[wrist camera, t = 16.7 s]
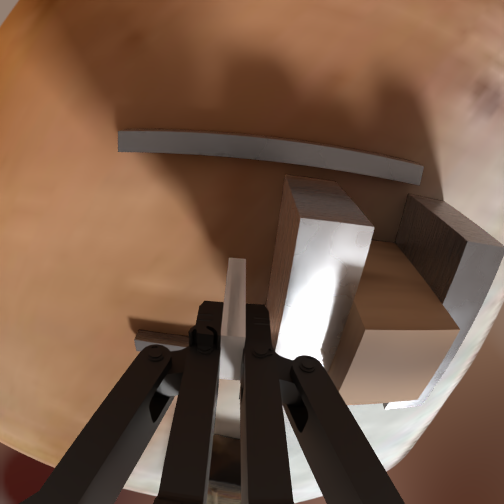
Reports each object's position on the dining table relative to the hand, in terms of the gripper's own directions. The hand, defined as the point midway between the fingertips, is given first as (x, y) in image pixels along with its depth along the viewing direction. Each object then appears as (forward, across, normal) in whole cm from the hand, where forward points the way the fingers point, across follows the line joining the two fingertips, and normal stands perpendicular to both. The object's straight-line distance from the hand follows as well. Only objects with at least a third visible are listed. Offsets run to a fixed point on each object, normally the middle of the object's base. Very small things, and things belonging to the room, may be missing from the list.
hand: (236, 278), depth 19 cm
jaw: (+2, +4, 0) cm, 4 cm away
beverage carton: (+3, 0, -32) cm, 32 cm away
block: (+2, +8, 0) cm, 8 cm away
